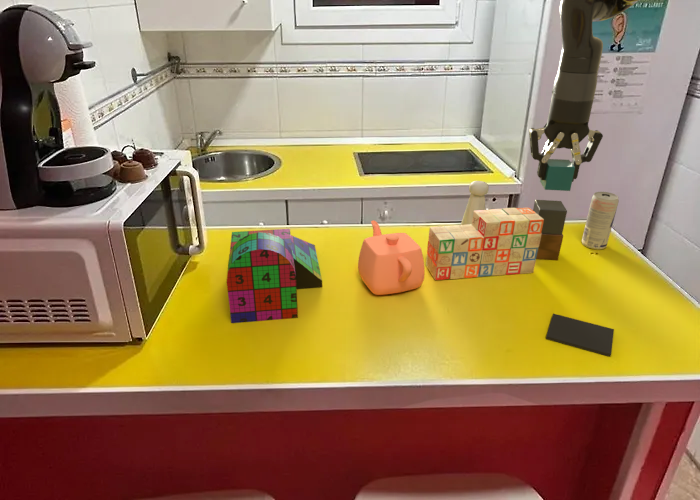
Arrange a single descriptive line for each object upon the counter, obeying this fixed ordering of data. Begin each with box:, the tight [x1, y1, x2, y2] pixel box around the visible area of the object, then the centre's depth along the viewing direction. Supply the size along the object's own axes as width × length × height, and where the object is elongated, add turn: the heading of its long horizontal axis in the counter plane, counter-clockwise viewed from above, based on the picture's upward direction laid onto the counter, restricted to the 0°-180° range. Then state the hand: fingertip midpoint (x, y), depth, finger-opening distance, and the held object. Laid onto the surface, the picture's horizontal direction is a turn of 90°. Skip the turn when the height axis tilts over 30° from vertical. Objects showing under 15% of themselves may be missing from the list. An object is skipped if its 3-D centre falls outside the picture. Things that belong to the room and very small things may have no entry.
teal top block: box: [539, 158, 575, 192], centre depth 106 cm, size 5×5×5 cm
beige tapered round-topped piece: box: [460, 180, 489, 225], centre depth 120 cm, size 6×6×13 cm
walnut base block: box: [536, 233, 564, 261], centre depth 113 cm, size 6×6×6 cm
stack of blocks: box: [425, 207, 544, 281], centre depth 105 cm, size 21×6×12 cm, turn 100°
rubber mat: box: [545, 313, 615, 358], centre depth 88 cm, size 10×8×1 cm
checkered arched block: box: [226, 228, 323, 324], centre depth 99 cm, size 25×17×14 cm
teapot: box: [357, 219, 426, 296], centre depth 101 cm, size 11×18×10 cm, turn 19°
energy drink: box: [581, 191, 619, 251], centre depth 116 cm, size 5×5×12 cm
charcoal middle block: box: [532, 199, 568, 235], centre depth 111 cm, size 6×6×6 cm
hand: (556, 179), depth 107 cm, fingers closed on teal top block, 5 cm apart
